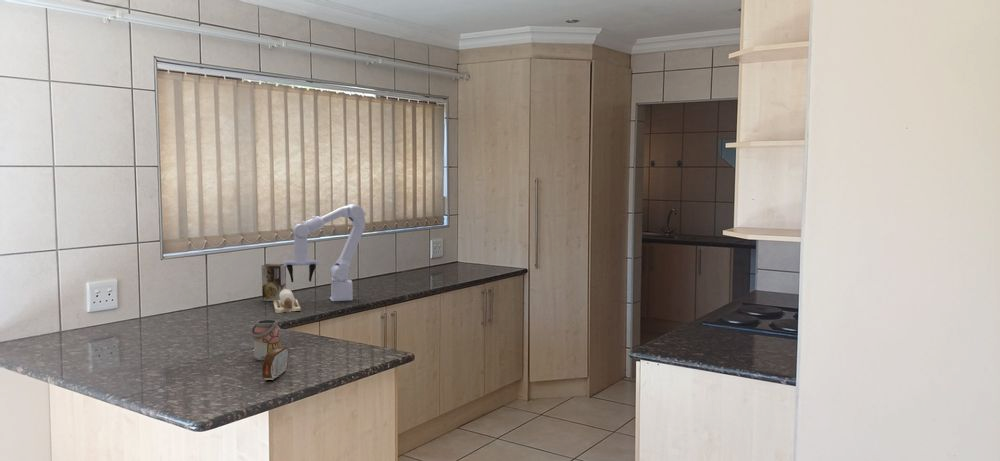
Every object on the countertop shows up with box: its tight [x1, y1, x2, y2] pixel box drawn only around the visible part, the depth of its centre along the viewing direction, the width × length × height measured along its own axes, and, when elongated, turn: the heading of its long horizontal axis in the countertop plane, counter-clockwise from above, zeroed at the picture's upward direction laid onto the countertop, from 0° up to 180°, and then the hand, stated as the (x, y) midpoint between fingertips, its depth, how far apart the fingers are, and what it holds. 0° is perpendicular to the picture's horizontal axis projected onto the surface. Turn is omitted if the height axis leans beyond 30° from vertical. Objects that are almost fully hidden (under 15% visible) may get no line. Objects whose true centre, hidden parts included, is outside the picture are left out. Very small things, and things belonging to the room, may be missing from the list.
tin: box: [261, 345, 290, 379], centre depth 216 cm, size 15×3×8 cm, turn 176°
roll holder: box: [272, 298, 302, 314], centre depth 314 cm, size 10×20×4 cm, turn 20°
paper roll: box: [279, 288, 296, 306], centre depth 314 cm, size 6×13×6 cm, turn 20°
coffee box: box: [261, 263, 287, 302], centre depth 330 cm, size 9×6×16 cm
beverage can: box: [249, 318, 281, 359], centre depth 235 cm, size 9×8×12 cm
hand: (301, 281), depth 325 cm, fingers open, 7 cm apart
